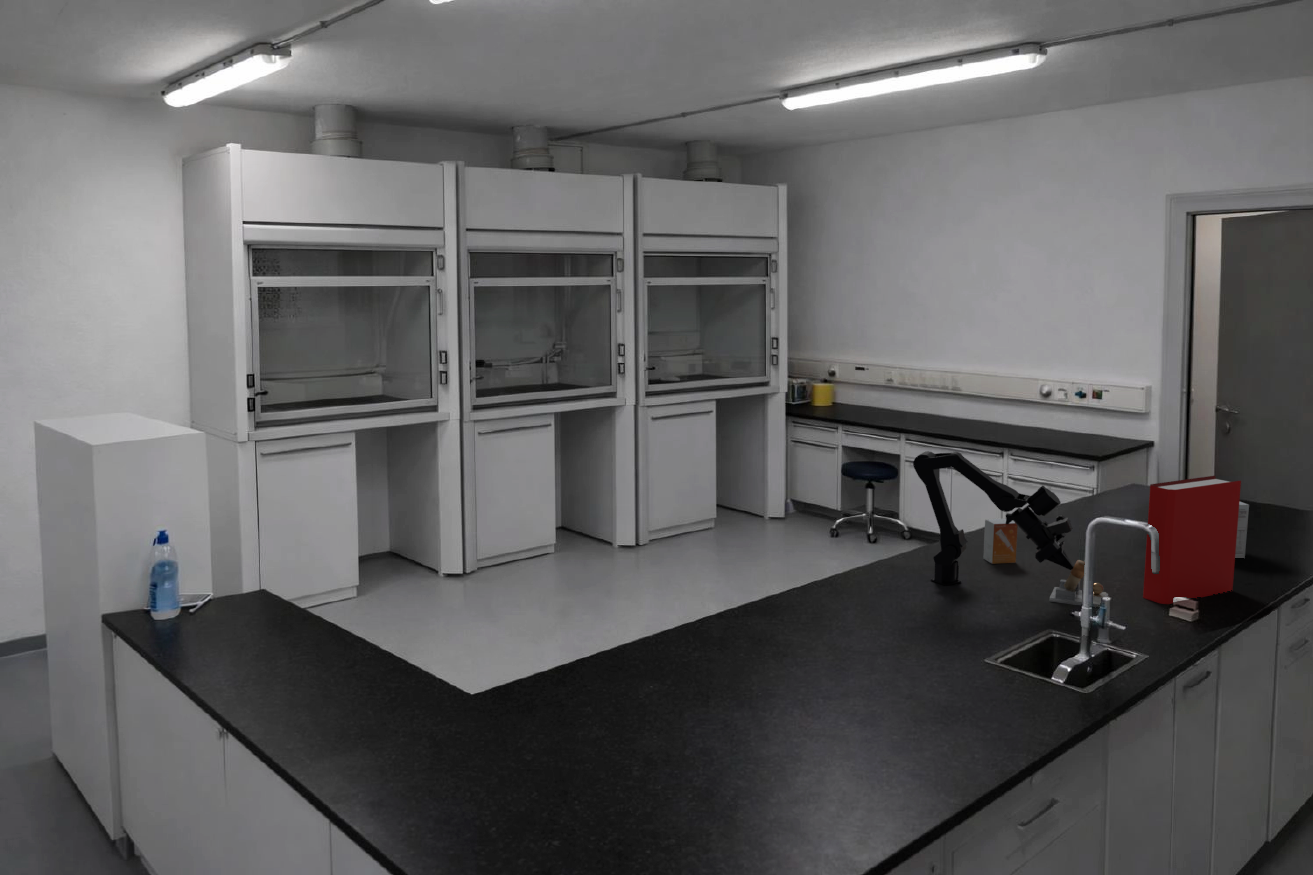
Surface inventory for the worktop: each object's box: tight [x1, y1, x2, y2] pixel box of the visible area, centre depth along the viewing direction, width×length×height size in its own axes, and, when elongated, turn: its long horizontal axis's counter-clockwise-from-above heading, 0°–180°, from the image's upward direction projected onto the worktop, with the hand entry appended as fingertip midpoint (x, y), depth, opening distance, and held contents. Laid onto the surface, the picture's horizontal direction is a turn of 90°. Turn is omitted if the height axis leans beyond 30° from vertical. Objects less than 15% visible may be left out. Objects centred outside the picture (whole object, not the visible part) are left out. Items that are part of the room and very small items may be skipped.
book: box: [1142, 475, 1242, 605], centre depth 281 cm, size 27×8×32 cm, turn 114°
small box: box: [983, 518, 1019, 565], centre depth 317 cm, size 8×6×13 cm
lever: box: [1064, 559, 1086, 590], centre depth 280 cm, size 3×6×10 cm, turn 153°
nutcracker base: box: [1048, 579, 1109, 606], centre depth 279 cm, size 14×11×5 cm
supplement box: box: [1235, 500, 1250, 559], centre depth 322 cm, size 13×13×18 cm
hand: (1072, 568), depth 280 cm, fingers closed, pressing on lever
